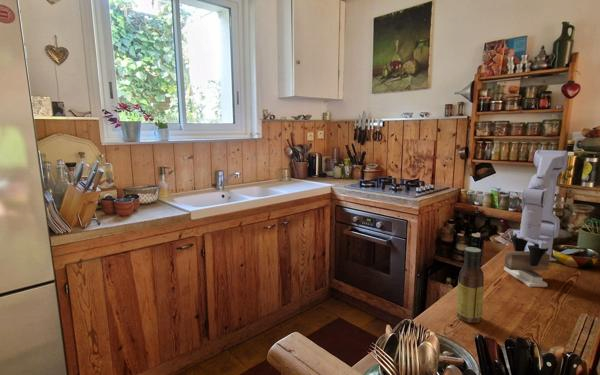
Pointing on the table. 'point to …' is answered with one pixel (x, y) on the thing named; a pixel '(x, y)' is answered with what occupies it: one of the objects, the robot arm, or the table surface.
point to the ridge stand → (528, 277)
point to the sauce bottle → (470, 287)
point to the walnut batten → (524, 261)
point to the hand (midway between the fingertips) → (526, 261)
